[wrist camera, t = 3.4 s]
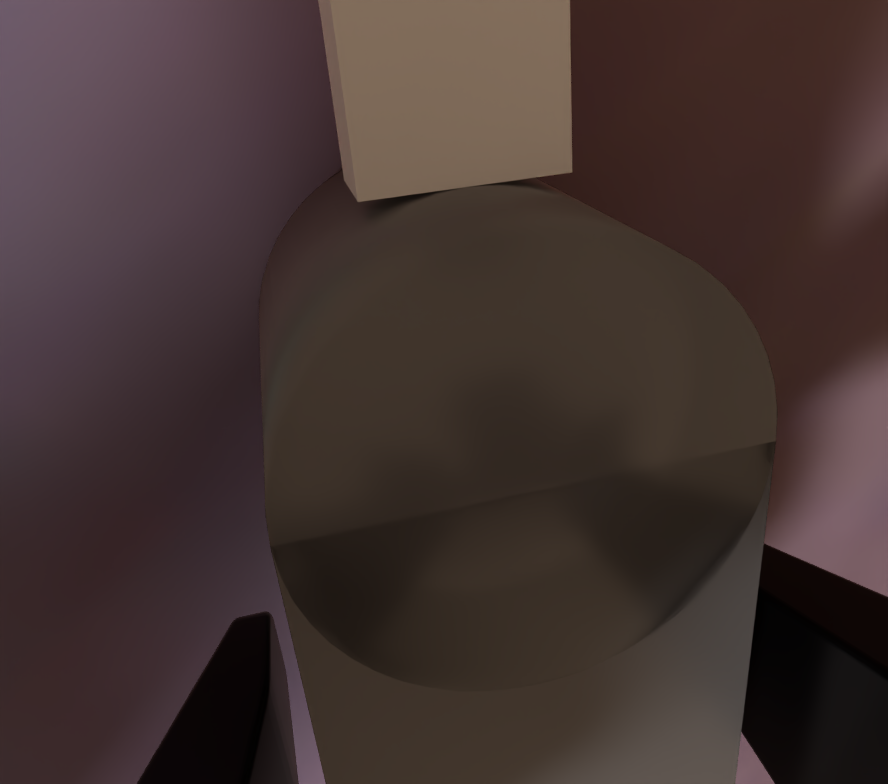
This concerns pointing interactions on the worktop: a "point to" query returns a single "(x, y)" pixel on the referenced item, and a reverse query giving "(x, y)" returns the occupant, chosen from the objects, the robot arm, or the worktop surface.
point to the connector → (503, 433)
